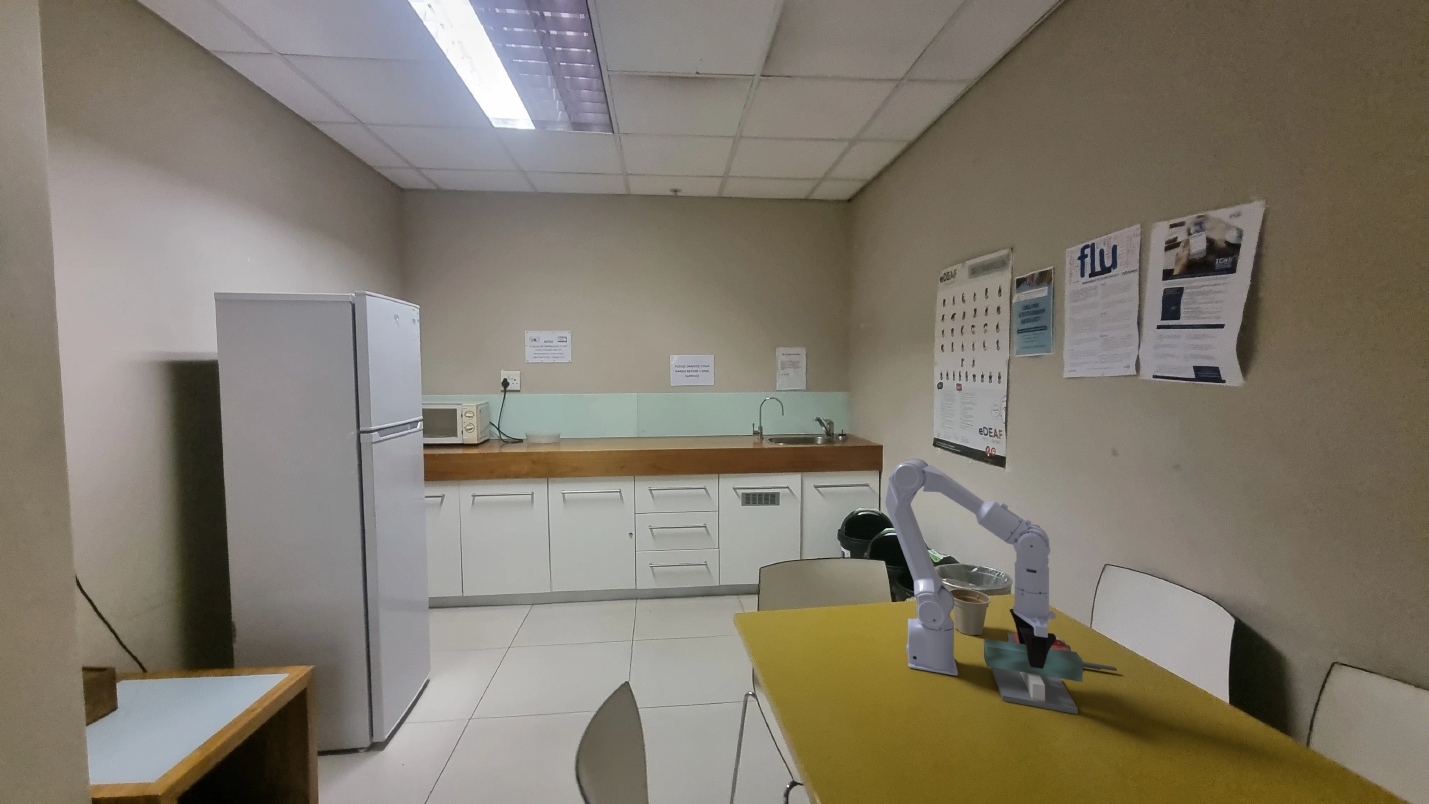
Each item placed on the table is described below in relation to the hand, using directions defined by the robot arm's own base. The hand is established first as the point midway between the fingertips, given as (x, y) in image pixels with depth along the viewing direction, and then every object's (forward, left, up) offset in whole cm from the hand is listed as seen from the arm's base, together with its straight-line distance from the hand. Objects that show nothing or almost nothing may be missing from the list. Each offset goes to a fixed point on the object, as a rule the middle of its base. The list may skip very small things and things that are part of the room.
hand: (1031, 657), depth 98 cm
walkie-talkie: (+8, +16, -7) cm, 19 cm away
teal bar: (0, 0, -2) cm, 2 cm away
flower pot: (-8, +24, -7) cm, 26 cm away
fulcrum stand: (0, 0, -6) cm, 6 cm away
